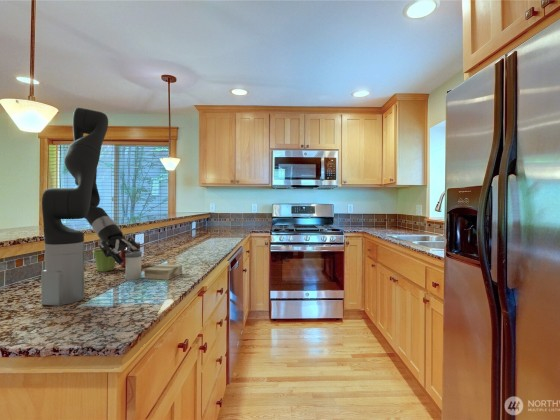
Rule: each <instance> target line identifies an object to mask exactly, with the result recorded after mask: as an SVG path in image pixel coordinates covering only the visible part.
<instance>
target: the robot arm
mask: <svg viewBox="0 0 560 420" xmlns="http://www.w3.org/2000/svg"><path fill="white" fill-rule="evenodd" d="M108 128H109V118H108V115H107V114H106V113H104V112H102V111H98V110H93V109H89V108H85V107H84V108H83V107H76V108H75V109H74V111H73V113H72V133H73V134H72V135H73V142H71V143H70V144H69V145H68V148H67V150H66V154H65V157H64V160H63V161H64V165H65V167H66V169H67V171H68V172H69V174H70V175H71V176H72V178H73V179H74V183H75V185H76V186H77V187H75V188H74V187H48V188H46V189H45V190H44V191H43V194H42V197H41V210H42V211H41V212H42V221H43V222H42V223H43V226H42V227H43V228H42V229H43V236H44V270H42V271H41V273H40V274H41V275H40V276H41V279H40V281H41V285H40V286H41V290H40V291H41V305H45V306H53V307H55V306H56V307H60V306H64V305H69V304H72V303H76V302H79V301H82V300H83V299H85V234H84V232H82V231H80V230H77V229H73V228H71V227H68V226H66V225H65V224H64V223H63V221H62V220H81V219H84V220H86V221H87V222H88V223H89V225H90V226H91V228H92V229H93V231H94V233H95V234H96V235H97V237H98V238H99V240H101V242H100V243H99V245H98V248H100V249H101V250H102V252H103V253H104V255H105V256H106V257H109V256H110V257H112V258H114V260H115V262H116V264H117V265H121V264H122V263H123V262H124V260H123V259H122V257H121V254H119V253H118V252H121V250H124V251H129V252H134V251H137V249H138V248H139V246H138V245H137V243H136V242H137V241H135V239H133V237H131V236H129V237H128V238H125V237H124V233H123V232H122V230H121V228H119V226H118V225H117V224H116V222H115V221H114V220H113V219H112V218H111V217H110V216H109V215H108V213H107V212H106V210H104V209H103V208H102V207H99V205H100V202H101V198H100V197H101V196H100V193H99V190H98V184H97V178H98V177H97V174H98V166H99V161H100V157H101V151H102V146H103V142H104V140H105V137H106V134H107V132H108ZM84 134H86V135H84ZM127 245H128V247H127ZM134 246H135V247H134ZM126 247H127V248H126ZM130 248H132V250H131V249H130ZM100 249H99V250H100ZM107 251H108V252H107Z"/></svg>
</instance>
